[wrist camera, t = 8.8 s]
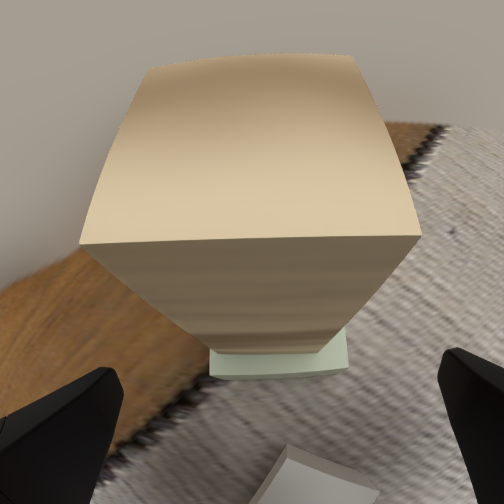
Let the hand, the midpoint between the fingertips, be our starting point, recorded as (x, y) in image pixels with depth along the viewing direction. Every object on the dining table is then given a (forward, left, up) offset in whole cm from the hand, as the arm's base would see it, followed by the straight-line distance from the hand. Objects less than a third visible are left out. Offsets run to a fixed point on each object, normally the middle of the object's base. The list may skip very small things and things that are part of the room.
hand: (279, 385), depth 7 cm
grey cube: (-5, -4, -11) cm, 13 cm away
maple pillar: (+4, +3, -7) cm, 9 cm away
